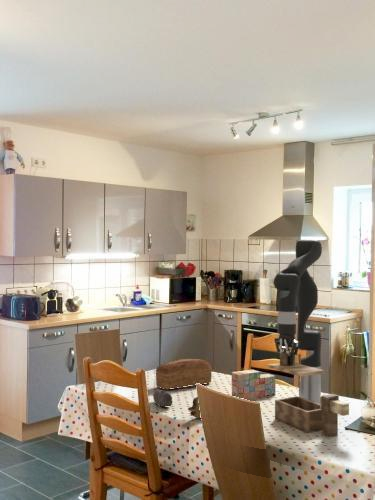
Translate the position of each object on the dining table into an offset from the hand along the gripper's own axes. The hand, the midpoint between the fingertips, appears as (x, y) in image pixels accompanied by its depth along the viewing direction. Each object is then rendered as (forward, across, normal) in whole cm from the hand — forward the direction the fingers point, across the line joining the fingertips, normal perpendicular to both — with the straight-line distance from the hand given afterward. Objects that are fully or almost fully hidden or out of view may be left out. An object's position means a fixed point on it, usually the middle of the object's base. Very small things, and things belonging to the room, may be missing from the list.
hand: (286, 364), depth 228 cm
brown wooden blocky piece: (+24, -8, -4) cm, 25 cm away
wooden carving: (+24, +23, +26) cm, 42 cm away
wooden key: (+14, -23, -4) cm, 27 cm away
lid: (+2, -5, 0) cm, 5 cm away
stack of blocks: (+23, +40, -13) cm, 48 cm away
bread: (+23, +74, +7) cm, 78 cm away
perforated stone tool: (+24, +48, +33) cm, 63 cm away
